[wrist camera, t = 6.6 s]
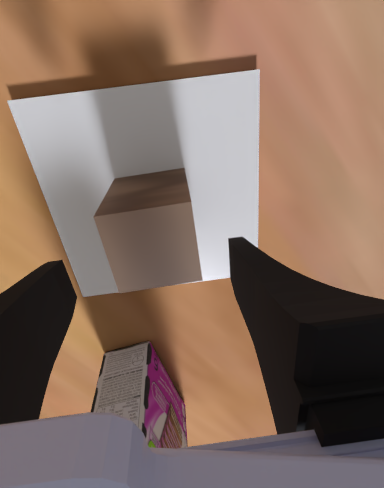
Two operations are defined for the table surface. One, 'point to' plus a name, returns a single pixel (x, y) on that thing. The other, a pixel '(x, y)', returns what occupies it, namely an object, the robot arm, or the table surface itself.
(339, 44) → the table surface
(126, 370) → the candy bar box
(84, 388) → the table surface
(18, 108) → the pad
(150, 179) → the walnut block
